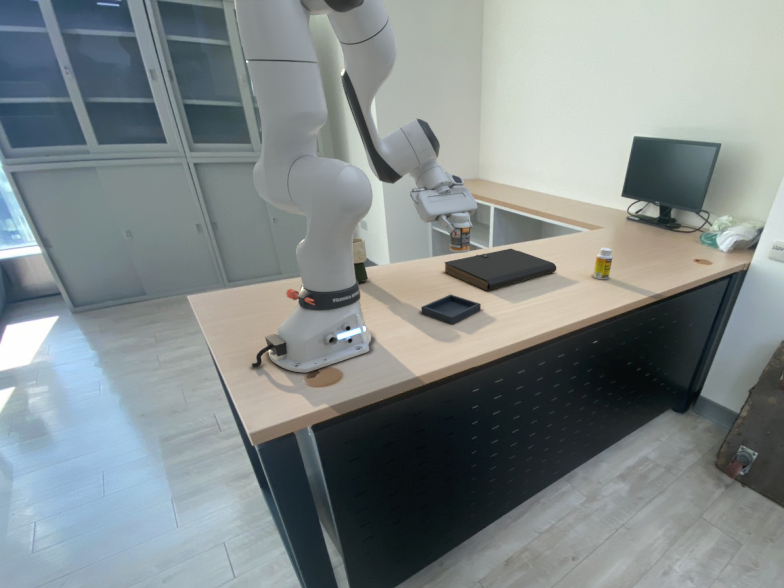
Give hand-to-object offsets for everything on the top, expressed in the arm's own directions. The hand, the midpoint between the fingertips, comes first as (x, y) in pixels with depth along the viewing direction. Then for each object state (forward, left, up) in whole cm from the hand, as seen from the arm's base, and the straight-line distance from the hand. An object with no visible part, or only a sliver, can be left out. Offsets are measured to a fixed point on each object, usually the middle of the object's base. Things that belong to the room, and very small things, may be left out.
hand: (461, 229), depth 112 cm
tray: (-10, -4, -20) cm, 23 cm away
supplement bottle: (+50, -25, -20) cm, 59 cm away
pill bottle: (0, +1, -6) cm, 6 cm away
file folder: (+29, +5, -20) cm, 35 cm away
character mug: (-10, +35, -20) cm, 42 cm away
